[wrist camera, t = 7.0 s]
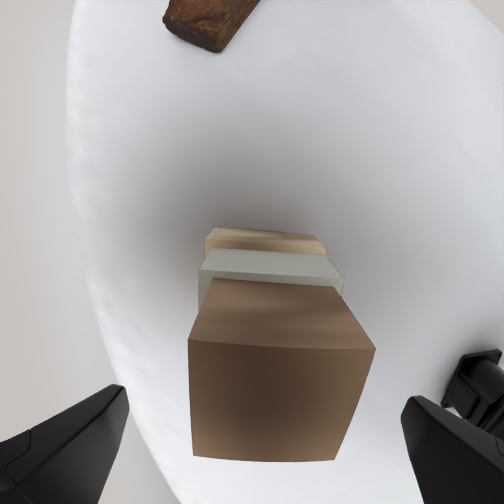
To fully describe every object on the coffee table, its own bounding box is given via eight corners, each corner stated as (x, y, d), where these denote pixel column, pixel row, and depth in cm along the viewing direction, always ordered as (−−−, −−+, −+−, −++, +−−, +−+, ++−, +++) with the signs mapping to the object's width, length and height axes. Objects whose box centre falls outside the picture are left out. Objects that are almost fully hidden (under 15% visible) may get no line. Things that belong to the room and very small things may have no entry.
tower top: (324, 254, 16) (344, 278, 12) (309, 350, 17) (321, 391, 14) (212, 247, 16) (198, 269, 12) (210, 345, 17) (200, 386, 14)
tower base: (312, 234, 20) (326, 248, 16) (300, 323, 21) (309, 352, 18) (214, 226, 20) (204, 238, 16) (210, 316, 21) (202, 345, 17)
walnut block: (333, 286, 12) (376, 348, 7) (313, 382, 13) (334, 459, 9) (212, 277, 12) (188, 339, 7) (209, 376, 13) (193, 455, 9)
